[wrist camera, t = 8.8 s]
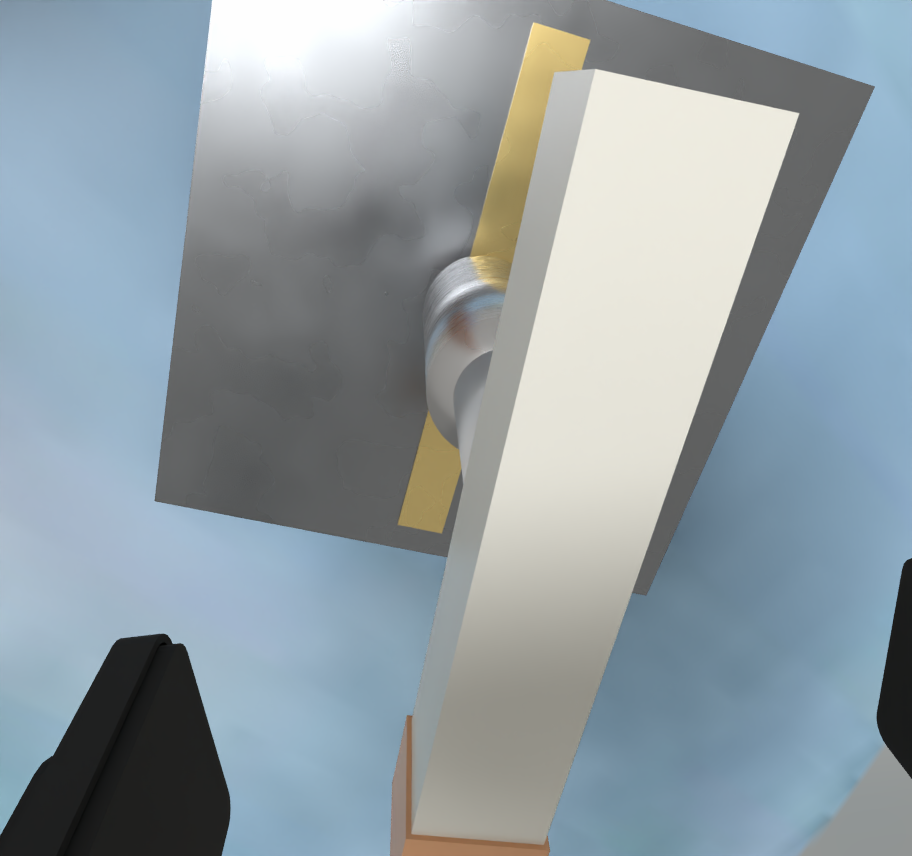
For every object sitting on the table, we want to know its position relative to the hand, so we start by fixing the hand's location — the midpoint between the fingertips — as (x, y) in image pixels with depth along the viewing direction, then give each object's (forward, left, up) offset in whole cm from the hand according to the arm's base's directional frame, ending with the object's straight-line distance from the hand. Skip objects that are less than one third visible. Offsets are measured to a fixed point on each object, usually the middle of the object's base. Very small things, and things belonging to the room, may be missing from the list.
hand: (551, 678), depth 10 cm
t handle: (0, 0, -8) cm, 8 cm away
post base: (+1, 0, -17) cm, 17 cm away
